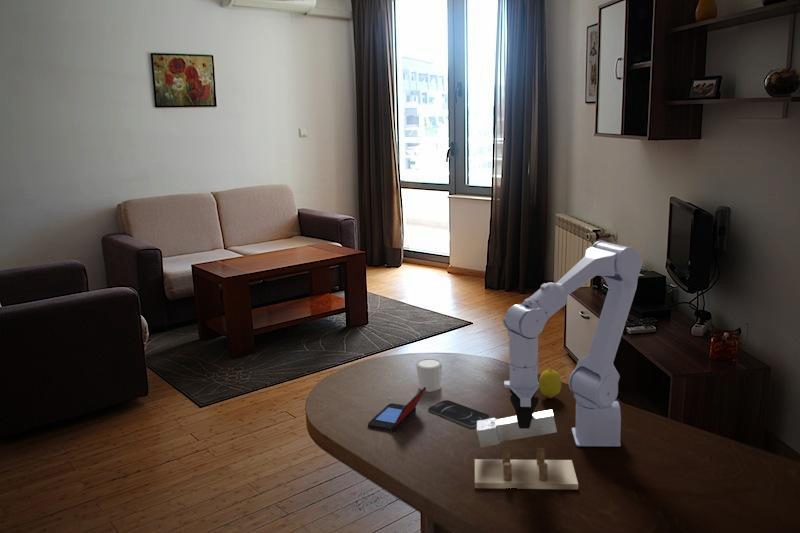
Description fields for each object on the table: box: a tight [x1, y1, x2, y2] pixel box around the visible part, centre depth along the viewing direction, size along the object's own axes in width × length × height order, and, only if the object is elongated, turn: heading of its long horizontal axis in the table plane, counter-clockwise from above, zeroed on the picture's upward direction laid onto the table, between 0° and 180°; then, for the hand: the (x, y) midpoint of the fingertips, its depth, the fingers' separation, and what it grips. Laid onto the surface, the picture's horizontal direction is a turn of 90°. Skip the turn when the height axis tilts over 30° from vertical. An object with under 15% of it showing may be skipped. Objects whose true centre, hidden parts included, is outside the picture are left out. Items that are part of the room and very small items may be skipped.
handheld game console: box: [367, 387, 426, 433], centre depth 164 cm, size 12×11×7 cm
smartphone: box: [427, 399, 491, 429], centre depth 166 cm, size 8×1×15 cm
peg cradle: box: [474, 447, 579, 490], centre depth 137 cm, size 20×9×4 cm, turn 84°
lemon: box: [538, 368, 562, 399], centre depth 171 cm, size 6×6×8 cm
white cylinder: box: [416, 358, 443, 393], centre depth 182 cm, size 7×7×7 cm
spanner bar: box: [476, 409, 558, 448], centre depth 142 cm, size 16×5×4 cm, turn 82°
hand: (523, 423), depth 141 cm, fingers closed on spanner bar, 3 cm apart
